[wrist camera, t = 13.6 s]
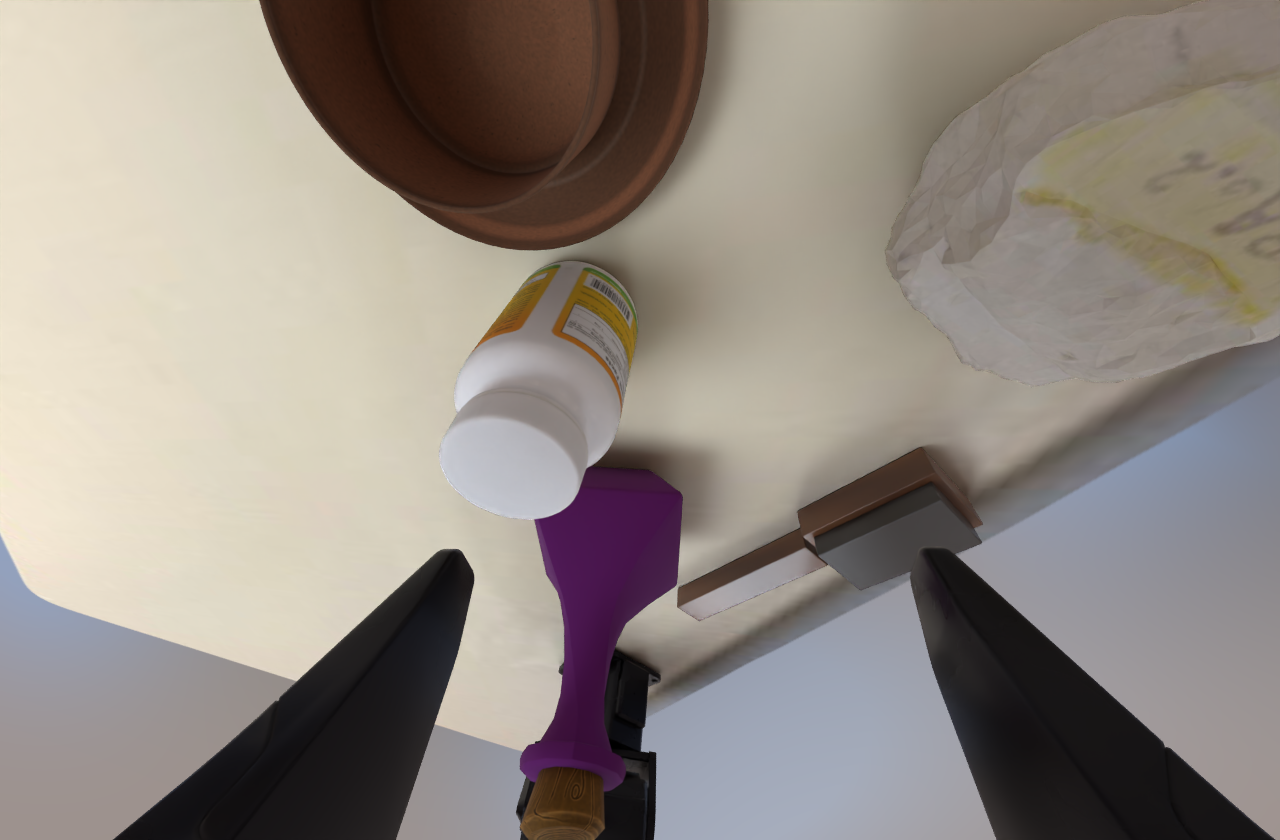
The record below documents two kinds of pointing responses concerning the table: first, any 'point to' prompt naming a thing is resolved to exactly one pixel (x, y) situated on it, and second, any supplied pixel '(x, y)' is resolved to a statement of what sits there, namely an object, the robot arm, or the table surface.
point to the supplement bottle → (542, 393)
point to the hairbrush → (850, 536)
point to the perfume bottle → (596, 635)
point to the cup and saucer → (502, 103)
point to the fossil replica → (1108, 203)
